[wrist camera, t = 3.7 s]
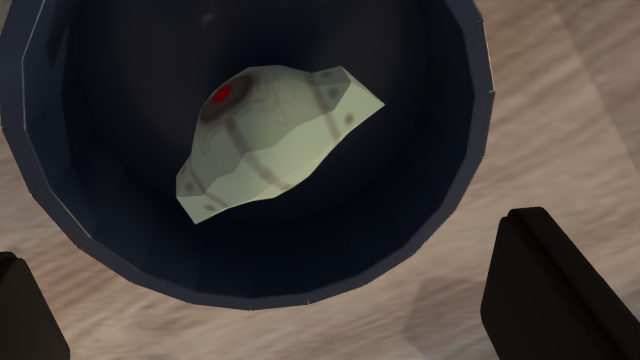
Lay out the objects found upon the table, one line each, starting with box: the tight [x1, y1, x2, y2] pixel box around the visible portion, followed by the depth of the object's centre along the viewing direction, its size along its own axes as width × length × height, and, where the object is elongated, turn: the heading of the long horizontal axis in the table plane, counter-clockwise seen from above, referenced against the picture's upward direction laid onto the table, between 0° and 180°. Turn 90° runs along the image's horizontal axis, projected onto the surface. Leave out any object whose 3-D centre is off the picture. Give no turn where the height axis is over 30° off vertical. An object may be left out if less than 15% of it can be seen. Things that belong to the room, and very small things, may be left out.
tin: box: [0, 0, 495, 311], centre depth 18 cm, size 15×15×5 cm
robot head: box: [176, 65, 385, 224], centre depth 17 cm, size 8×4×7 cm, turn 123°
